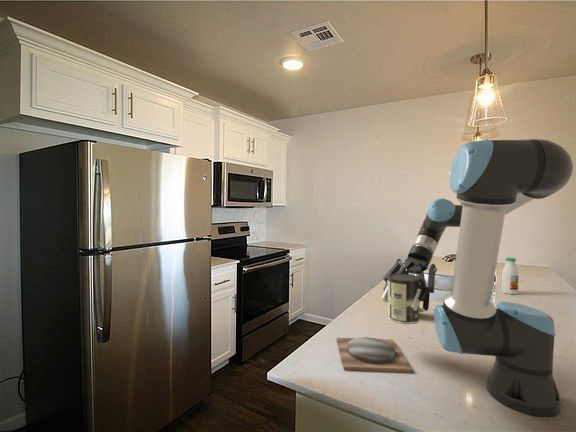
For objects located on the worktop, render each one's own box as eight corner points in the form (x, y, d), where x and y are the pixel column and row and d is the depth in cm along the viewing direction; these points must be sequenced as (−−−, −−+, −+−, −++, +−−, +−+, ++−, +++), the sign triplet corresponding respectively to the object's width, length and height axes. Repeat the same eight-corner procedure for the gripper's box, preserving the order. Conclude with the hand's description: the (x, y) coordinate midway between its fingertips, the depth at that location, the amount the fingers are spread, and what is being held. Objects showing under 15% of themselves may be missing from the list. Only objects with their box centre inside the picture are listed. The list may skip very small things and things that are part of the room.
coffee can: (417, 314, 108) (417, 273, 107) (422, 325, 98) (422, 281, 97) (386, 311, 110) (386, 272, 109) (388, 323, 100) (388, 280, 99)
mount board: (412, 372, 91) (412, 364, 91) (343, 369, 92) (343, 361, 92) (392, 342, 111) (393, 335, 111) (336, 340, 112) (336, 333, 112)
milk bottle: (504, 294, 174) (505, 258, 173) (499, 290, 181) (500, 256, 180) (520, 295, 171) (521, 259, 171) (514, 291, 179) (515, 257, 178)
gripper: (458, 262, 104) (436, 320, 95) (397, 253, 121) (373, 301, 112) (452, 248, 100) (428, 307, 91) (389, 241, 118) (364, 290, 108)
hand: (398, 304), depth 102 cm, fingers closed on coffee can, 10 cm apart
